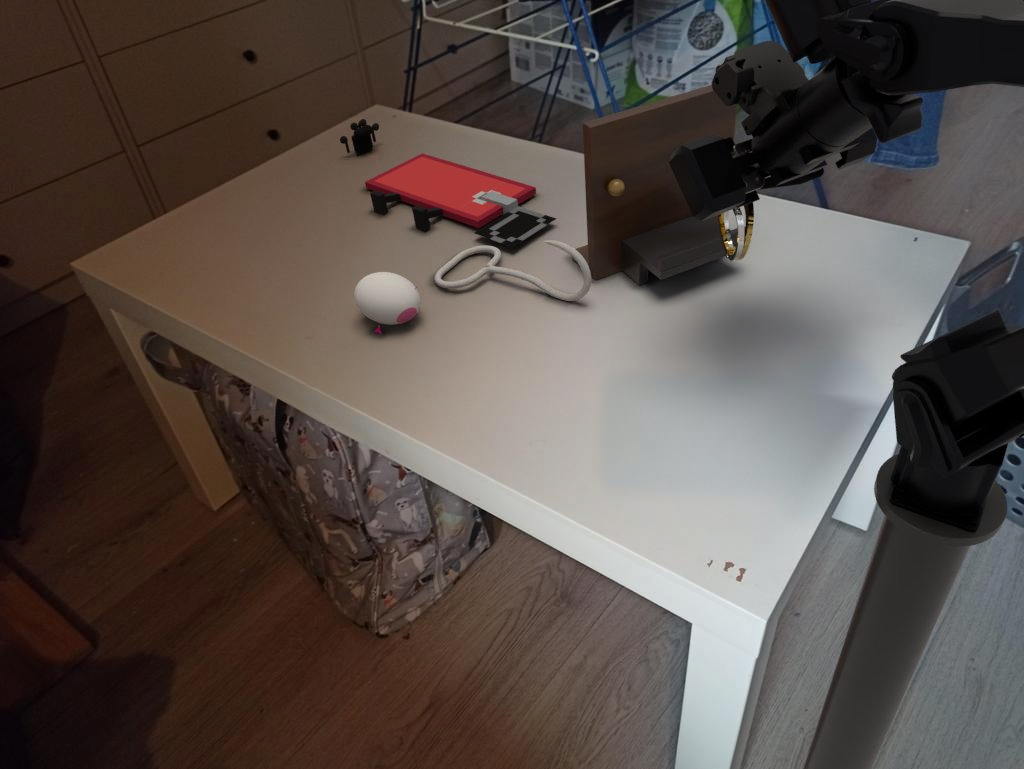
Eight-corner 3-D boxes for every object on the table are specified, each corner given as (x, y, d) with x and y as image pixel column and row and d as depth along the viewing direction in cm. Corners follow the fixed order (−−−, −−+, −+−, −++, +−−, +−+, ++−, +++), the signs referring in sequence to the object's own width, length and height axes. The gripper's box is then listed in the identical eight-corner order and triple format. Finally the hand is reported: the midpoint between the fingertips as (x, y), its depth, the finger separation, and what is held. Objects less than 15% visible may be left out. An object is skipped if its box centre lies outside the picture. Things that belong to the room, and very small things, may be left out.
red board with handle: (502, 260, 95) (580, 210, 103) (500, 239, 93) (579, 190, 101) (346, 201, 112) (423, 162, 120) (341, 182, 110) (420, 144, 118)
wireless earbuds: (380, 143, 126) (373, 112, 122) (389, 147, 124) (382, 116, 121) (343, 158, 123) (335, 127, 119) (351, 163, 121) (343, 131, 118)
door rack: (768, 262, 89) (789, 105, 78) (632, 313, 85) (632, 155, 73) (698, 214, 99) (706, 68, 87) (571, 258, 94) (563, 110, 83)
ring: (706, 241, 82) (710, 168, 76) (738, 238, 81) (744, 165, 76) (721, 277, 76) (727, 202, 71) (755, 274, 76) (763, 198, 71)
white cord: (574, 327, 83) (430, 303, 94) (616, 282, 88) (476, 264, 100) (561, 266, 79) (412, 249, 90) (606, 222, 84) (461, 211, 96)
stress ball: (432, 340, 90) (444, 282, 89) (394, 342, 83) (406, 279, 82) (378, 324, 93) (389, 268, 92) (336, 324, 86) (347, 263, 85)
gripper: (876, -9, 64) (768, 90, 79) (687, 46, 58) (609, 142, 73) (935, 115, 63) (815, 192, 78) (749, 183, 58) (658, 251, 73)
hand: (726, 191), depth 76 cm, fingers closed on ring, 3 cm apart
